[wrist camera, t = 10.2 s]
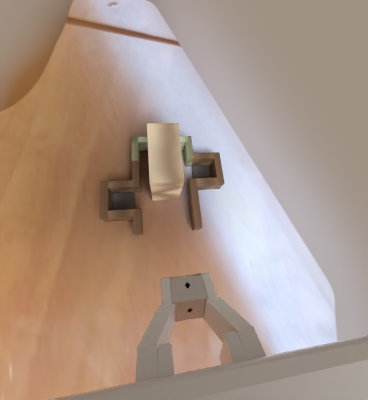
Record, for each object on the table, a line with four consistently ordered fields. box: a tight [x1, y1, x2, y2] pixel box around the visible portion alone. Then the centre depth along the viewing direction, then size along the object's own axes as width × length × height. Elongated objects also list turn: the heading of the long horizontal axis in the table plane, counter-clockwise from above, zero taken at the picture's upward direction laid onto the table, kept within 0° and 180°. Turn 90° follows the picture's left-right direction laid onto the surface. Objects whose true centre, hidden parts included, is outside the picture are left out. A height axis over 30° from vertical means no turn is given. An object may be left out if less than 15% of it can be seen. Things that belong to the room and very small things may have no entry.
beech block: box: [147, 123, 184, 200], centre depth 32 cm, size 5×10×9 cm, turn 5°
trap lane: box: [100, 136, 224, 235], centre depth 34 cm, size 22×18×3 cm
